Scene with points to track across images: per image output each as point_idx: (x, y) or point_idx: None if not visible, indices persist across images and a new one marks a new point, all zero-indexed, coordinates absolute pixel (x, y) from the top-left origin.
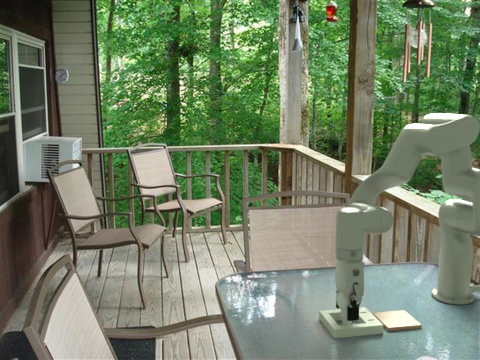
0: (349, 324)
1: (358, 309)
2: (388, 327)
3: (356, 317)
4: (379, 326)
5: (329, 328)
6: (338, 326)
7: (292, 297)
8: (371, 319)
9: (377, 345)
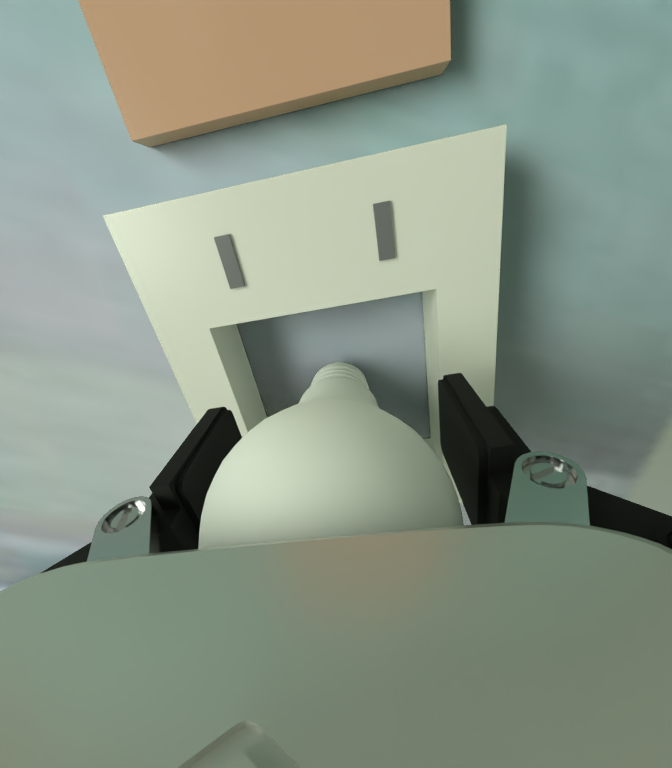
0: (366, 381)
1: (497, 428)
2: (442, 53)
3: (494, 410)
4: (499, 174)
5: None
6: None
7: (33, 546)
8: (379, 224)
9: (630, 248)
